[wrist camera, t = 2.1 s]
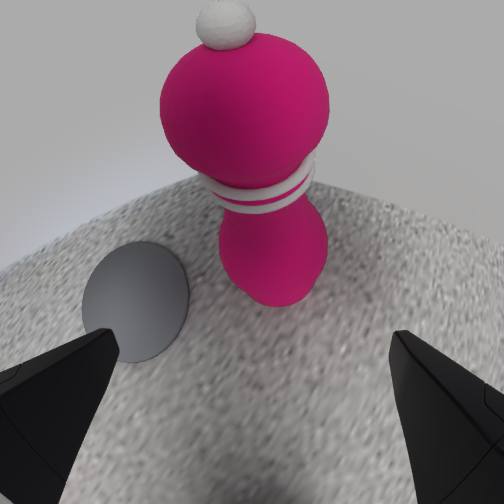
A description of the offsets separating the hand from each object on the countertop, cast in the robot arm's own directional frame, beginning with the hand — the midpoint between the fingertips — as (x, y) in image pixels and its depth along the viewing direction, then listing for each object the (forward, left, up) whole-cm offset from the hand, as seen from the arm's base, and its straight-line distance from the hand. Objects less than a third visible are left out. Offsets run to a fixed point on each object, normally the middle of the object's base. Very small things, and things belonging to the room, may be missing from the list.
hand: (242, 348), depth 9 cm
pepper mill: (+6, -5, -14) cm, 16 cm away
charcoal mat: (+11, +7, -13) cm, 19 cm away
